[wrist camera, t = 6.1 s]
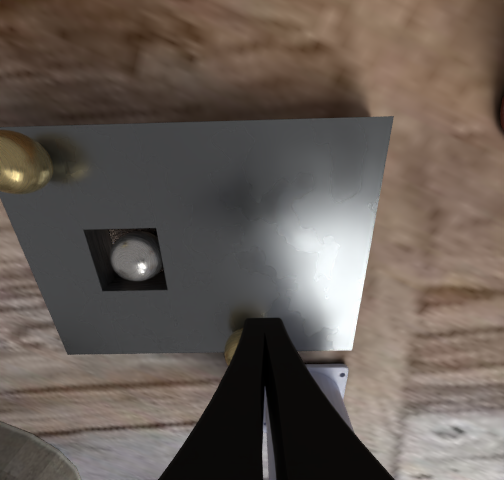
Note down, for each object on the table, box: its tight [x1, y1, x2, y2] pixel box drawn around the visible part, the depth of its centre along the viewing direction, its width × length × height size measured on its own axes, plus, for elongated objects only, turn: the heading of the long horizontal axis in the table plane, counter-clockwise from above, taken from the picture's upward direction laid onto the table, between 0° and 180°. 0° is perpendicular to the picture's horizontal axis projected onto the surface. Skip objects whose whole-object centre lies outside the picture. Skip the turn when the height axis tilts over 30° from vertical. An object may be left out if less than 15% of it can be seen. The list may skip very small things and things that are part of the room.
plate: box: [0, 116, 394, 355], centre depth 17 cm, size 16×22×2 cm
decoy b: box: [0, 130, 53, 194], centre depth 12 cm, size 3×3×3 cm
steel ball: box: [110, 230, 163, 281], centre depth 16 cm, size 3×3×3 cm
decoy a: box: [224, 328, 243, 366], centre depth 17 cm, size 3×3×3 cm
